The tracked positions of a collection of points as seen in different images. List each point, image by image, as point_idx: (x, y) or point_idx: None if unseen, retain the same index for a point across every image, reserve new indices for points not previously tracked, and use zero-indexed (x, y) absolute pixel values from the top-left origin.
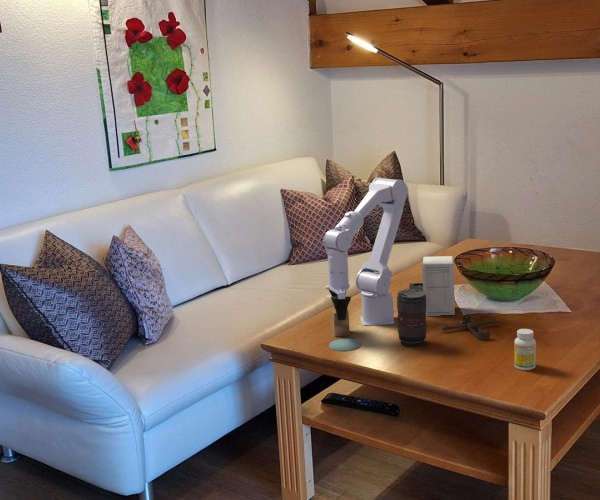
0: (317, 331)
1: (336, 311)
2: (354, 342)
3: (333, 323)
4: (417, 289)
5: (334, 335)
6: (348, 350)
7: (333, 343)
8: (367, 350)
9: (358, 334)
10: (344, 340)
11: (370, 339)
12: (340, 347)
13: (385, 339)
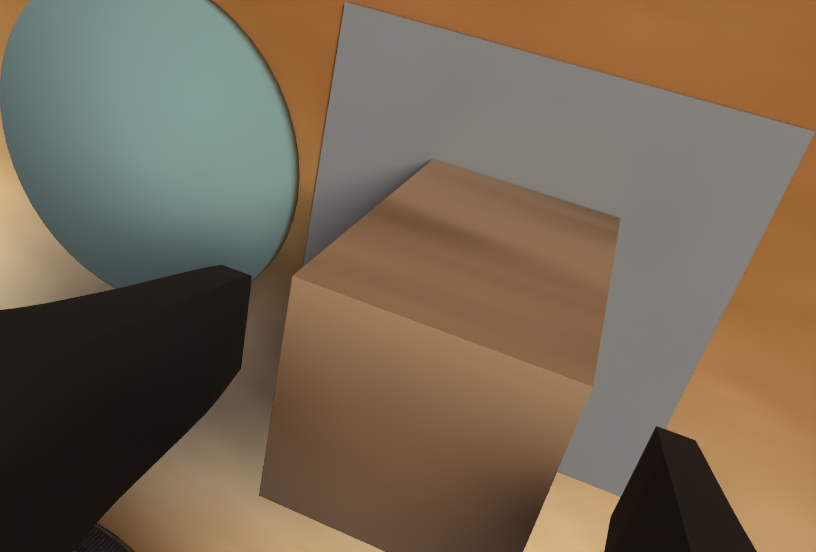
0: (796, 16)
1: (70, 299)
2: (161, 257)
3: (502, 237)
4: None
5: (462, 168)
6: (9, 123)
7: (186, 45)
8: (23, 276)
9: None
10: (237, 194)
11: (246, 418)
12: (65, 74)
13: (211, 502)
